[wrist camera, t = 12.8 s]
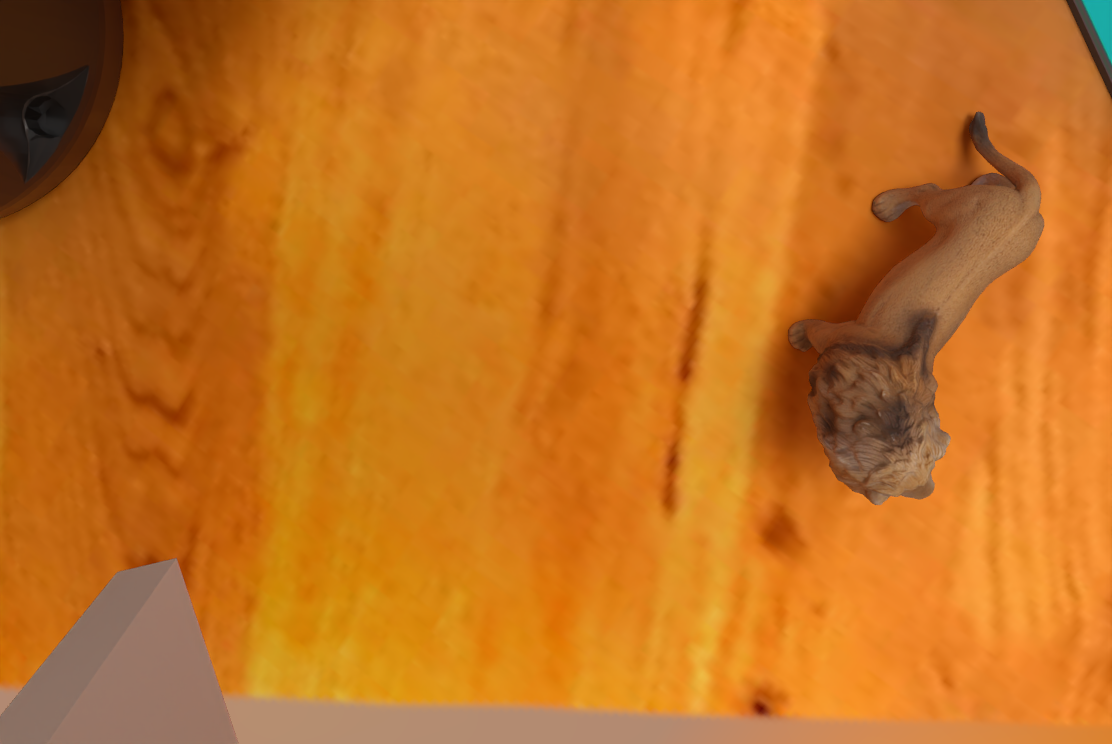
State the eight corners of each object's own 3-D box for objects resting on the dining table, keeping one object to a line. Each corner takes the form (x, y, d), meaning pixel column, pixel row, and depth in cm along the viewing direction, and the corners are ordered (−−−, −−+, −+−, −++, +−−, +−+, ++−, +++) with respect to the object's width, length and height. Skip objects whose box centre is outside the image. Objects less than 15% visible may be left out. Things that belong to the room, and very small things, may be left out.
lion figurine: (847, 463, 42) (947, 547, 33) (738, 413, 41) (811, 486, 32) (1024, 141, 40) (1182, 140, 31) (912, 80, 39) (1043, 62, 30)
